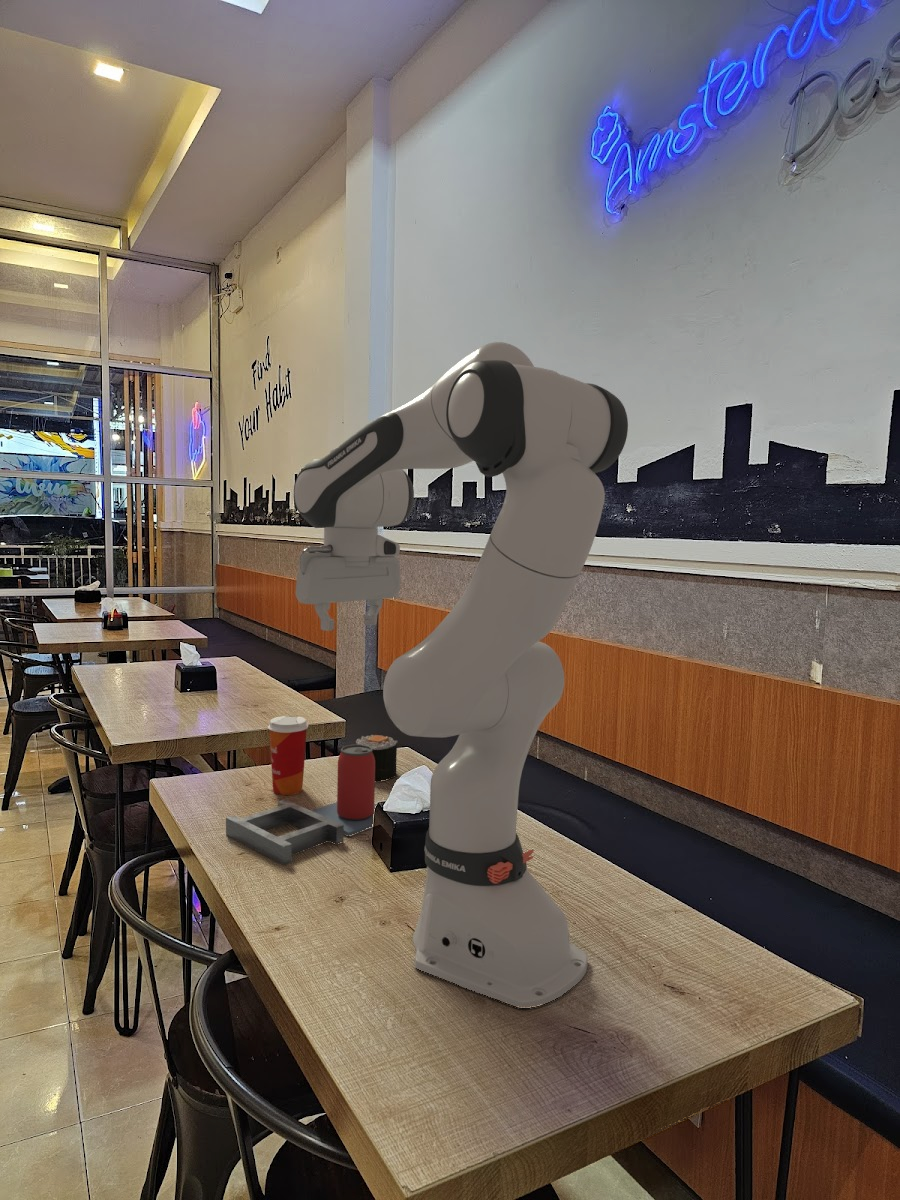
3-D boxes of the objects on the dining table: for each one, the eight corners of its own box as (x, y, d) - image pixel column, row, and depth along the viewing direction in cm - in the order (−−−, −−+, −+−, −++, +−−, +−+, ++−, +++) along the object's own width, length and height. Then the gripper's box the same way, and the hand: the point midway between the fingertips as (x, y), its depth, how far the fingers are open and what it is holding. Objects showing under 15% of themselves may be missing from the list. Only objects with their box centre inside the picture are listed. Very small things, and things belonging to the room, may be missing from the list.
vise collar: (343, 842, 128) (343, 825, 128) (283, 865, 119) (283, 846, 119) (284, 815, 139) (285, 799, 138) (225, 834, 130) (225, 817, 130)
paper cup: (273, 782, 155) (273, 714, 154) (311, 784, 155) (312, 715, 154) (262, 796, 148) (262, 724, 146) (302, 798, 147) (303, 726, 146)
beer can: (373, 821, 135) (375, 754, 134) (335, 821, 135) (336, 754, 133) (374, 807, 142) (376, 743, 140) (338, 807, 141) (339, 743, 140)
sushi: (372, 765, 167) (372, 729, 167) (403, 773, 163) (404, 736, 162) (347, 775, 161) (348, 738, 160) (379, 784, 156) (380, 745, 155)
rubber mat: (399, 817, 139) (399, 813, 139) (348, 837, 130) (348, 832, 130) (355, 800, 147) (355, 796, 147) (304, 817, 138) (304, 812, 138)
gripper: (312, 546, 119) (311, 635, 120) (407, 545, 134) (405, 624, 135) (287, 544, 123) (287, 630, 124) (381, 543, 138) (380, 620, 140)
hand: (349, 627), depth 130 cm, fingers open, 8 cm apart
